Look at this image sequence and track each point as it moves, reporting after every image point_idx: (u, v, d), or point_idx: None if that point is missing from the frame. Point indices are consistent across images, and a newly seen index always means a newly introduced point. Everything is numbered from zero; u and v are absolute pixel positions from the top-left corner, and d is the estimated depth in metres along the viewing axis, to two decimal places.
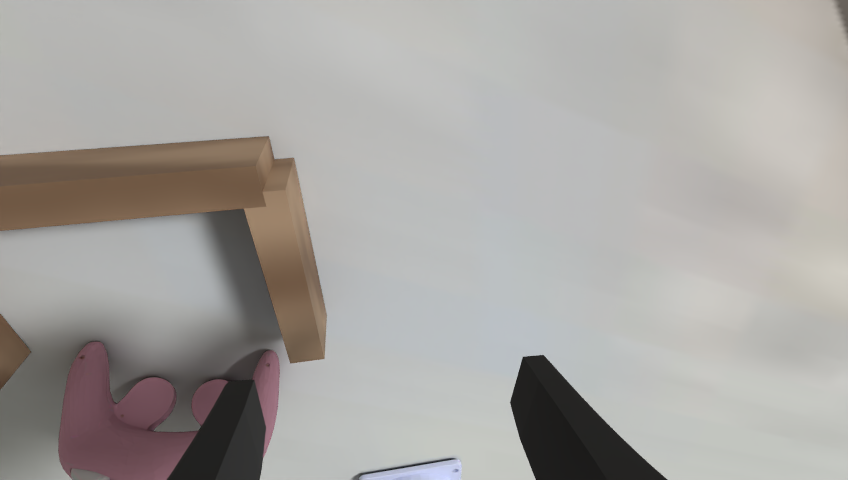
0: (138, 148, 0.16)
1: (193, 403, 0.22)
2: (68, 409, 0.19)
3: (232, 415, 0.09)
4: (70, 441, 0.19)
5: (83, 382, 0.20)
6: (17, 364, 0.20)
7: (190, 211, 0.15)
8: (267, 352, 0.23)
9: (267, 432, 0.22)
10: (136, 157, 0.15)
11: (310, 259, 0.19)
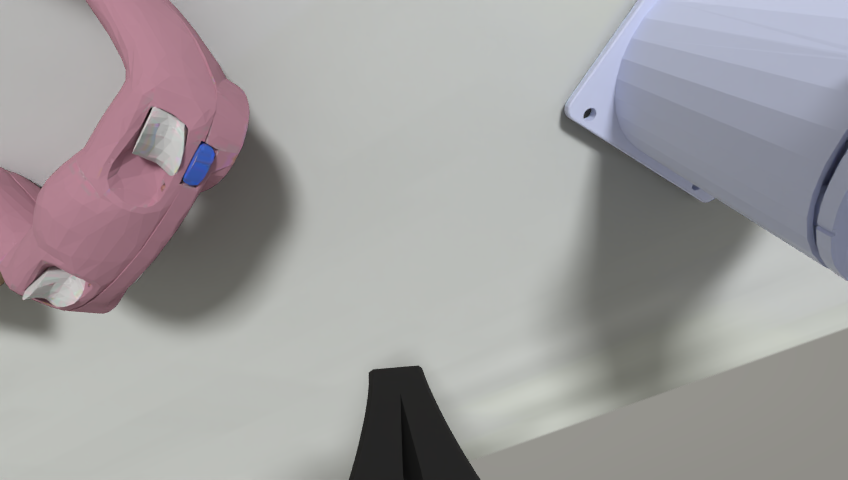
0: None
1: None
2: None
3: (391, 399, 0.10)
4: (1, 265, 0.12)
5: None
6: None
7: None
8: None
9: (169, 44, 0.10)
10: None
11: None
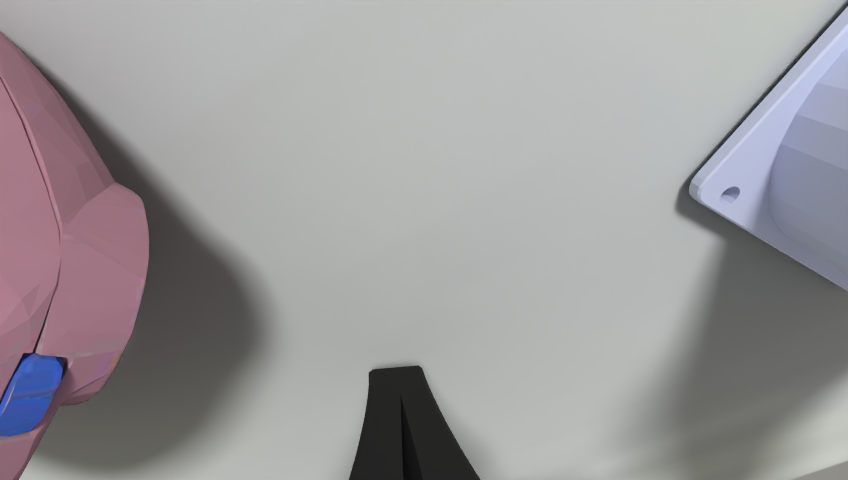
0: None
1: None
2: None
3: (391, 399, 0.10)
4: None
5: None
6: None
7: None
8: None
9: None
10: None
11: None
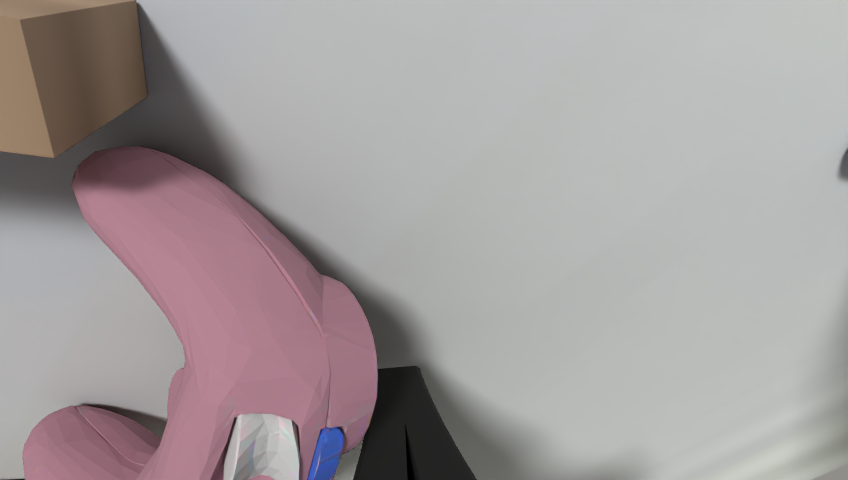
0: None
1: None
2: None
3: (395, 399, 0.10)
4: None
5: None
6: None
7: None
8: None
9: (236, 286, 0.06)
10: None
11: None
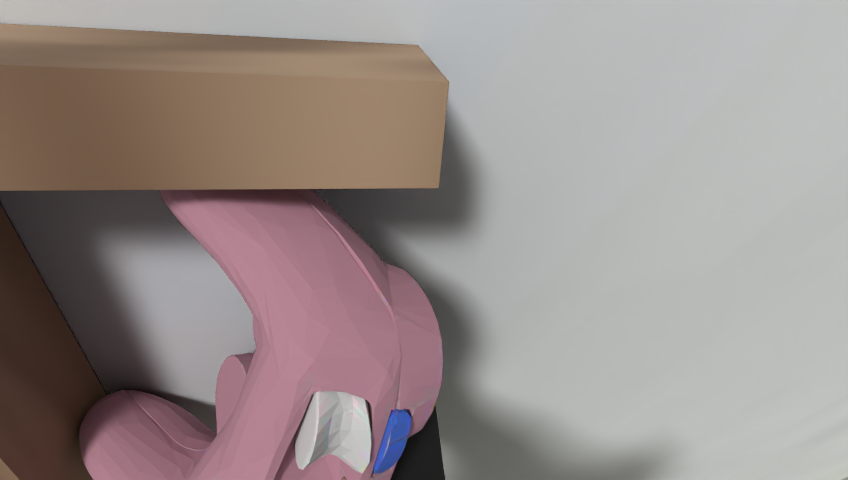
0: None
1: None
2: None
3: None
4: None
5: (96, 464, 0.10)
6: None
7: None
8: None
9: (311, 266, 0.06)
10: None
11: (133, 42, 0.06)
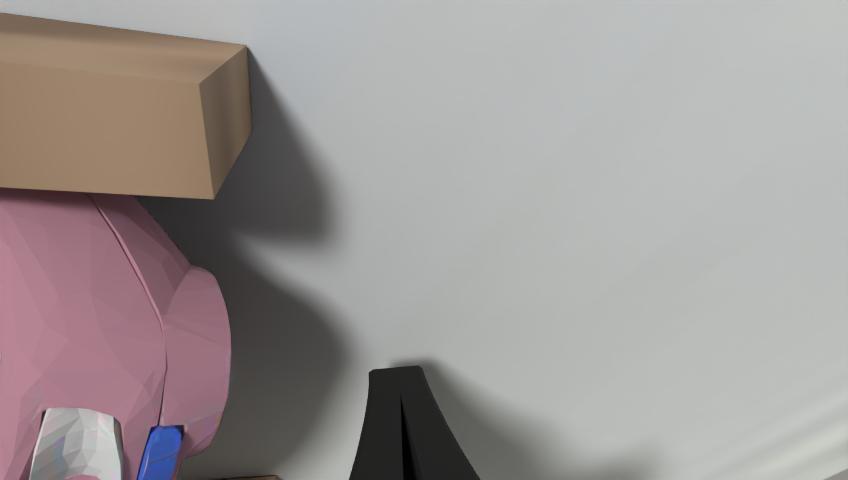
0: None
1: None
2: None
3: (391, 399, 0.10)
4: None
5: None
6: None
7: None
8: None
9: (66, 270, 0.06)
10: None
11: None
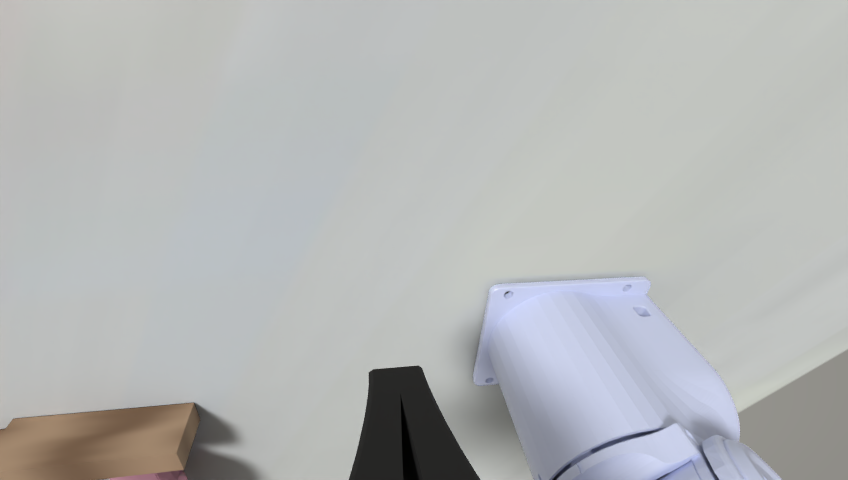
0: None
1: None
2: None
3: (391, 399, 0.10)
4: None
5: None
6: None
7: None
8: None
9: None
10: None
11: (95, 429, 0.22)
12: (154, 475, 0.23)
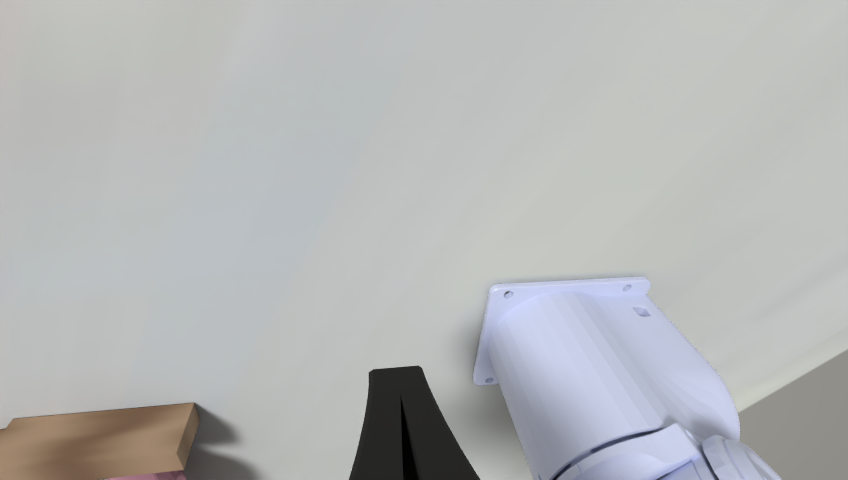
0: None
1: None
2: None
3: (391, 399, 0.10)
4: None
5: None
6: None
7: None
8: None
9: None
10: None
11: (95, 429, 0.22)
12: (153, 475, 0.23)
